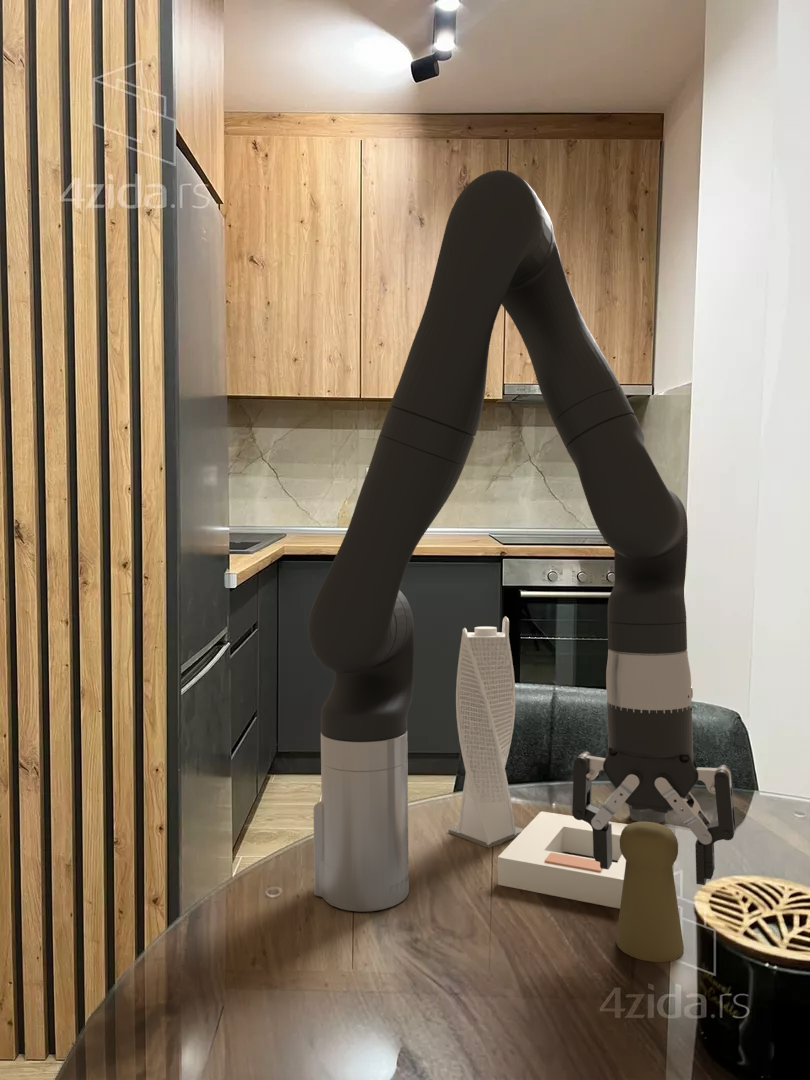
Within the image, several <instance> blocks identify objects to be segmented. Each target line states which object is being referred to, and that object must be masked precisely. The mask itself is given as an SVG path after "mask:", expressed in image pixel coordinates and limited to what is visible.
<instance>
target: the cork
mask: <svg viewBox="0 0 810 1080" xmlns="http://www.w3.org/2000/svg"><path fill="white" fill-rule="evenodd" d="M628 824H629V825H627V826H626V827H624V829H623V830H622V833H621V837H620V849H621V853H622V855H623V857H624V858H625V859H626V865H625V873H624V881H623V889H622V897H621V905H620V909H619V912H618V913H619V914H618V920H617V921H618V923H617V929H616V936H615V937H616V938H615V943H616V946H617V948H619V950H621V952H623V953H625V954H626V955H629V957H632V958H635V959H638V960H641V961H646V962H652V963H667V962H672V961H675V960H678V959H679V958H681V956H682V955H684V953H685V952H684V951H685V948H684V938H683V932H682V931H683V930H682V926H681V918H680V911H679V904H678V896H677V891H676V883H675V878H674V877H675V876H674V869H673V865H674V864H675V862H676V861H677V858H678V855H679V842H678V838H677V836H676V835H675V833H674V831H673V830H672V829H671V828H669V827H667V826H665V825H664V824H661V823H654V822H637V821H635V822H631V823H628Z"/></svg>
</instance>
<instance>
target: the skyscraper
mask: <svg viewBox="0 0 810 1080" xmlns="http://www.w3.org/2000/svg"><path fill="white" fill-rule="evenodd" d="M501 625H502V626H501V627H502V628H501V632H498V627H497V626H476V627H474V632H471V631H470V632H469V631H468V630H467V628H466V627H464V628H462V634H461V641H460V646H459V654H458V663H457V670H456V671H457V672H456V684H455V685H456V686H455V687H456V688H455V709H456V710H455V711H456V714H455V715H456V724H457V733H458V739H459V746H460V750H461V751H460V752H461V757H462V761H463V766H464V771H465V776H464V783H463V788H462V797H461V803H460V804H461V805H460V811H459V818H458V825H455V826H454V827H451V828H448V833H449V834H451V835H454V836H457V837H459V838H463V839H464V840H468V841H470V842H473V843H474V844H478V845H481V846H483V847H486V848H488V849H490V848H492V847H495V846H498V845H500V844H503V843H505V842H508V841H510V840H514V839H515V838H516V837H517V836H518V835H519V834H520V833H521V832H522V831H523V830H524V829H525V828H522V827H518V826H516V823H515V816H514V809H513V805H512V804H513V803H512V800H511V799H512V798H511V793H510V787H509V783H508V778H507V772H506V769H505V768H506V765H507V762H508V757H509V753H510V748H511V744H512V738H513V733H514V726H515V716H516V682H515V681H516V680H515V670H514V665H513V663H514V662H513V656H512V655H513V654H512V650H511V649H512V648H511V643H510V642H511V641H510V635H509V633H510V620H509V618H508V617H507V616H506V615H505V616H504V617H503V618H502V624H501Z"/></svg>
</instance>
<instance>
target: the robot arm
mask: <svg viewBox="0 0 810 1080" xmlns="http://www.w3.org/2000/svg"><path fill="white" fill-rule="evenodd" d="M439 249H440V250H439V253H438V257H437V260H436V261H437V262H436V265H435V270H434V272H433V273H434V274H433V276H432V277H433V278H432V281H431V286H430V290H429V294H428V297H427V301H426V304H425V308H424V311H423V314H422V316H421V319H420V322H419V324H418V327H417V331H416V332H415V335H414V338H413V340H412V343H411V347H410V349H409V352H408V355H407V358H406V361H405V364H404V367H403V370H402V373H401V376H400V378H399V380H398V383H397V386H396V390H395V392H394V394H393V397H392V399H391V402H390V404H389V405H390V406H389V407H388V410H387V413H386V415H385V418H384V422H383V424H382V427H381V430H380V433H379V435H378V438H377V441H376V444H375V448H374V451H373V455H372V457H371V461H370V463H369V467H368V468H367V472H366V474H365V478H364V481H363V483H362V486H361V489H360V492H359V494H358V497H357V500H356V504H355V507H354V510H353V514H352V516H351V519H350V521H349V524H348V527H347V530H346V532H345V534H344V537H343V539H342V542H341V544H340V546H339V548H338V550H337V553H336V555H335V557H334V559H333V561H332V563H331V566H330V567H329V570H328V572H327V573H326V576H325V577H324V579H323V582H322V584H321V586H320V588H319V591H318V592H317V595H316V596H315V599H314V601H313V604H312V605H311V610H310V612H309V617H308V623H307V637H308V640H309V644H310V648H311V651H312V653H313V654H314V656H315V658H316V659H317V660H318V661H319V662H320V664H321V665H322V666H324V667H325V668H326V669H328V670H330V671H332V672H334V681H333V683H332V687H331V691H330V692H329V695H328V697H327V698H326V700H325V701H324V703H323V705H322V707H321V710H320V764H321V765H320V768H321V769H320V773H321V774H320V777H321V778H320V780H321V781H320V782H321V783H320V784H321V800H320V801H319V802H317V803H315V804H314V807H313V886H314V887H313V891H314V893H313V894H314V895H315V896H317V897H321V898H322V899H323V900H324V901H325V902H326V903H328V904H329V905H330V906H332V907H335V908H338V909H339V910H340V909H341V910H345V911H349V912H350V911H352V912H374V911H381V910H385V909H389V908H392V907H394V906H396V905H398V904H401V903H402V902H403V901H404V900H405V899H406V898H407V897H408V895H409V889H410V888H409V887H410V885H409V883H410V881H409V880H410V870H409V868H410V867H409V784H408V782H409V781H408V780H409V779H408V778H409V776H408V775H409V774H408V773H409V772H408V771H409V770H408V769H409V768H408V767H409V766H408V765H409V763H408V716H409V710H410V708H411V703H412V700H413V695H414V674H415V672H414V668H415V625H414V623H415V622H414V617H413V612H412V609H411V608H412V607H411V606H410V603H409V601H408V599H407V597H406V596H405V595H404V594H403V592H402V591H401V590H400V589H401V587H402V582H403V580H404V576H405V573H406V571H407V568H408V565H409V563H410V560H411V558H412V556H413V554H414V551H415V550H416V547H417V546H418V545H419V543H420V541H421V540H422V538H423V536H424V535H425V534H426V532H427V531H428V529H429V528H430V526H431V525H432V524H433V522H434V520H435V519H436V518H437V516H438V514H439V513H440V512H441V510H442V508H443V507H444V505H445V504H446V503H447V500H449V498H450V496H451V494H452V492H453V491H454V489H455V487H456V485H457V484H458V481H459V479H460V477H461V475H462V472H463V470H464V468H465V465H466V462H467V460H468V457H469V454H470V451H471V450H472V449H471V448H472V447H473V443H474V441H475V436H477V432H478V429H479V426H480V422H481V418H482V414H483V408H484V401H485V394H486V386H487V377H488V361H489V351H490V344H491V338H492V333H493V330H494V326H495V322H496V320H497V316H498V314H499V311H500V309H501V306H502V307H503V308H504V310H505V311H506V313H507V314H508V316H509V317H510V319H511V320H512V322H513V323H514V325H515V327H516V329H517V331H518V333H519V336H520V337H521V339H522V341H523V343H524V346H525V349H526V351H527V353H528V356H529V359H530V362H531V365H532V368H533V371H534V375H535V378H536V381H537V385H538V387H539V390H540V394H541V397H542V399H543V402H544V404H545V407H546V409H547V410H548V411H547V412H548V414H549V415H550V417H551V419H552V422H553V424H554V426H555V428H556V431H557V432H558V434H559V437H560V439H561V440H562V443H563V444H564V447H565V449H566V451H567V453H568V455H569V457H570V459H571V461H572V462H573V464H574V465H575V467H576V470H577V473H578V476H579V480H580V484H581V488H582V490H583V493H584V495H585V499H586V501H587V505H588V507H589V510H590V513H591V515H592V519H593V520H594V523H595V525H596V527H597V529H598V531H599V533H600V536H601V537H602V538H603V540H604V541H605V542H606V545H608V546H609V547H610V549H612V550H613V551H614V552H613V553H614V562H613V563H614V565H613V566H614V568H613V569H614V583H613V588H612V590H611V592H610V594H609V597H608V601H607V649H608V651H607V663H606V671H605V673H606V674H605V676H606V677H605V681H606V682H605V683H606V686H605V687H606V688H605V689H606V717H607V720H606V722H607V723H606V724H607V727H606V728H607V755H606V757H600V756H599V757H598V756H593V755H592V754H591V752H589V751H586V750H585V751H582V752H581V753H580V754H579V755H578V756H577V757H576V758H575V759H574V762H573V781H572V782H573V783H572V784H573V785H572V807H571V808H572V809H571V811H572V812H571V813H572V815H571V816H573V817H574V818H575V819H577V820H583V821H585V822H587V823H589V824H590V825H591V827H592V829H593V856H594V857H593V856H592V857H593V859H595V861H597V862H600V868H602V869H609V868H610V866H611V864H612V862H613V860H612V825H611V824H609V822H610V820H611V819H612V817H614V815H615V814H616V813H617V812H618V810H619V809H620V808H621V807H622V806H623V805H624V803H625V804H627V805H628V806H629V805H630V806H632V809H638V810H643V809H652V810H654V811H657V812H662V813H665V814H668V813H669V812H671V811H673V810H674V812H675V813H676V815H677V816H678V817H679V819H680V820H681V822H682V823H683V824H685V825H686V826H687V827H688V828H689V829H690V830H691V832H692V834H694V836H695V838H696V841H695V879H696V881H695V882H696V885H702V886H706V884H707V883H706V882H707V881H708V880H712V878H713V876H714V873H715V869H716V868H715V843H716V842H718V841H722V840H724V841H730V840H733V839H734V837H735V830H736V828H737V824H736V823H737V822H736V813H735V812H736V811H735V803H734V802H735V801H734V800H735V799H734V791H733V789H734V788H733V778H732V777H733V776H732V769H731V768H730V767H729V766H728V765H726V764H720V765H718V766H717V767H700V766H698V764H697V763H696V761H695V758H694V745H693V743H694V740H693V705H692V703H693V702H692V701H693V700H692V699H693V695H694V693H693V687H692V675H691V667H690V663H689V656H688V655H689V654H688V633H687V632H688V630H687V627H688V626H687V609H686V602H685V601H686V600H685V583H686V576H687V575H686V573H687V562H688V561H687V558H688V537H689V535H688V534H689V533H688V531H689V530H688V516H687V512H686V508H685V506H684V504H683V502H682V500H681V499H680V497H678V495H677V494H676V493H674V492H673V491H672V490H670V489H668V487H667V485H666V483H665V482H664V481H663V479H662V477H661V475H660V473H659V471H658V469H657V467H656V465H655V464H654V462H653V460H652V458H651V455H650V454H649V452H648V450H647V448H646V446H645V443H644V441H645V439H644V437H645V436H644V433H643V431H642V427H641V424H640V423H639V420H638V418H637V416H636V414H635V412H634V409H633V408H632V405H631V403H630V402H629V399H628V397H627V395H626V394H625V392H624V390H623V388H622V385H621V383H620V382H619V381H618V380H619V379H618V378H617V377H616V375H615V372H614V371H613V369H612V367H611V365H610V364H609V362H608V360H607V358H606V357H605V355H604V354H603V353H604V352H603V351H602V350H601V348H600V347H599V345H598V343H597V341H596V340H595V337H594V336H593V334H592V333H591V331H590V329H589V327H588V326H587V324H586V321H585V319H584V318H583V316H582V314H581V312H580V309H579V307H578V305H577V302H576V300H575V298H574V296H573V293H572V290H571V288H570V285H569V281H568V279H567V275H566V272H565V269H564V266H563V262H562V258H561V255H560V252H559V248H558V244H557V240H556V236H555V233H554V224H553V222H552V219H551V217H550V215H549V213H548V211H547V210H546V208H545V206H544V205H543V203H542V201H541V200H540V198H539V197H538V195H537V193H536V192H535V190H534V189H533V187H531V186H530V184H529V183H528V182H526V180H524V179H523V178H522V177H521V176H520V175H518V174H516V173H514V172H513V171H509V170H504V169H503V170H502V169H496V170H491V171H490V170H489V171H486V172H484V173H482V174H480V175H479V176H478V177H476V178H474V179H473V180H471V181H470V183H468V185H466V186H465V188H463V189H462V191H461V193H460V194H459V196H457V199H456V200H455V202H454V204H453V206H452V208H451V210H450V213H449V215H448V218H447V222H446V226H445V229H444V233H443V236H442V241H441V245H440V248H439ZM600 771H603V773H604V774H605V776H606V778H608V780H609V781H610V783H611V784H612V786H613V788H614V789H615V790H614V791H613V792H612V793H611V794H610V796H609V797H608V798H607V800H605V802H604V803H603V805H601V807H600V808H599V807H596V806H594V805H592V784H593V781H594V780H595V779H596V778H597V777H598V776H599V773H600ZM698 781H701V782H703V783H704V784H705V787H706V790H707V791H708V792H709V793H710V794H713V795H715V801H716V812H717V821H713V822H712V821H710V819H709V818H708V817H707V815H706V814H705V812H704V811H703V810H702V808H701V805H700V804H699V802H698V800H697V799H696V798H695V797H694V795H693V794H692V793H691V791H692V789H693V788H694V787H695V786H696V784H697V783H698Z"/></svg>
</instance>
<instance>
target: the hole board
mask: <svg viewBox="0 0 810 1080" xmlns="http://www.w3.org/2000/svg"><path fill="white" fill-rule="evenodd" d="M609 824H611V825H612V864H611V866H610V868H609V869H602V868H600V862H597V861H595V858H594V856H593V829H592V827H591V825H590V824H589V823H587V822H585V821H583V820H577V819H575V818H574V817H573V815H568V814H560V813H556V812H555V813H554V812H548V811H540V812H538V814H537V815H536V816H535V817H534V818H533V819H532V820H531V821H530V822H529V823H528V824H527V826H526V827H524V828H523V829H524V830H523V831H522V832H521V833H520V834H519V835H518V836H517V837H515V838H513V839H512V842H510V843H509V845H508V846H507V847H506V848H505V849H504V850H503V851H502V852H500V854H499V855H498V857H497V885H498V886H504V887H509V888H514V889H518V890H523V891H529V892H534V893H538V894H539V893H540V894H544V895H548V896H553V897H554V896H555V897H558V898H559V897H560V898H563V899H564V898H565V899H569V900H574V901H579V902H584V903H589V904H594V905H600V906H604V907H610V908H615V909H618V910H620V905H621V897H622V889H623V881H624V873H625V865H626V859H625V858H624V857H623V855H622V853H621V849H620V837H621V833H622V830H623V829H624V827H626V826H627V825H629V824H630V823H628V824H627V823H620V822H615V821H614V822H613V821H609ZM568 853H571V854H568ZM574 854H577V855H574ZM580 855H581V856H580ZM582 855H583V856H582ZM585 856H587V857H585ZM588 856H589V857H588ZM592 857H593V858H592ZM616 861H617V862H616Z"/></svg>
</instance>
